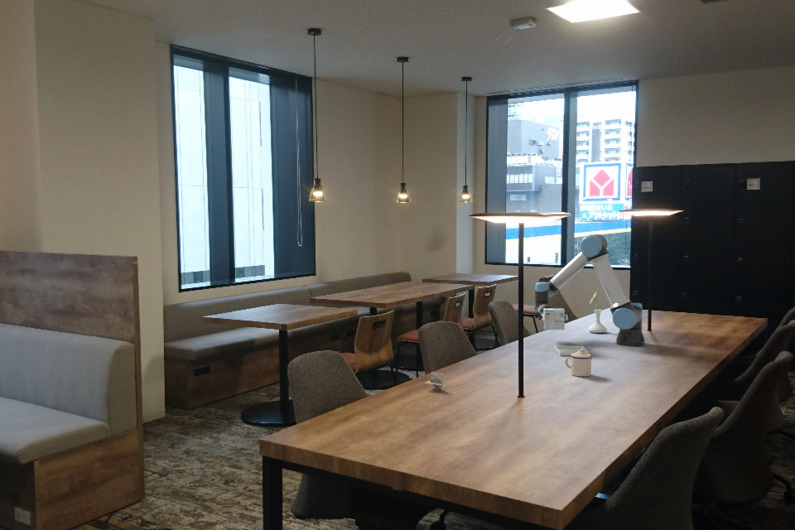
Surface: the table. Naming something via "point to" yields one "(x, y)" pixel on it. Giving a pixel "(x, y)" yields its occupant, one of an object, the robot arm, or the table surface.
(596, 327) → the flower in vase
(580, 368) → the teacup with lid
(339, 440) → the table surface
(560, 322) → the light bulb box
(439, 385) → the architectural model
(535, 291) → the robot arm
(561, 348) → the tray
